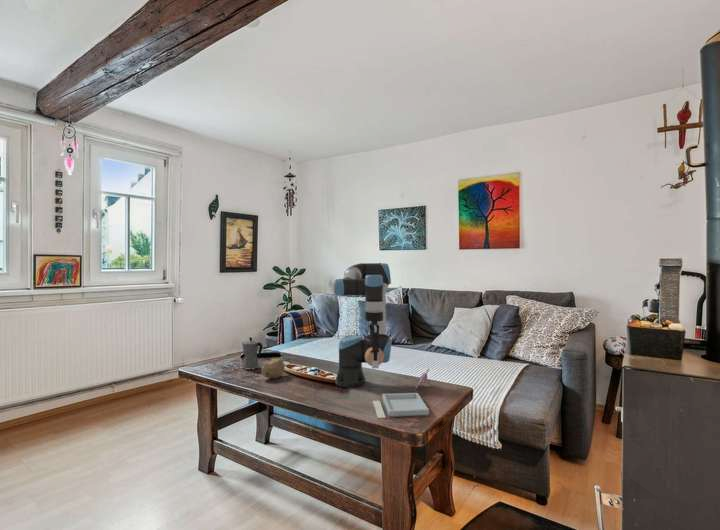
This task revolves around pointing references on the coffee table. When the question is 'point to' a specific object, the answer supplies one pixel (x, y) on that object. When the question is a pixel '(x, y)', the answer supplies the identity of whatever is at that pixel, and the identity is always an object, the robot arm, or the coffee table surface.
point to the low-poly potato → (273, 368)
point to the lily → (423, 378)
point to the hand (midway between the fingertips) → (374, 365)
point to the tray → (404, 405)
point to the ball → (369, 356)
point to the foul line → (379, 409)
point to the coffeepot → (251, 353)
